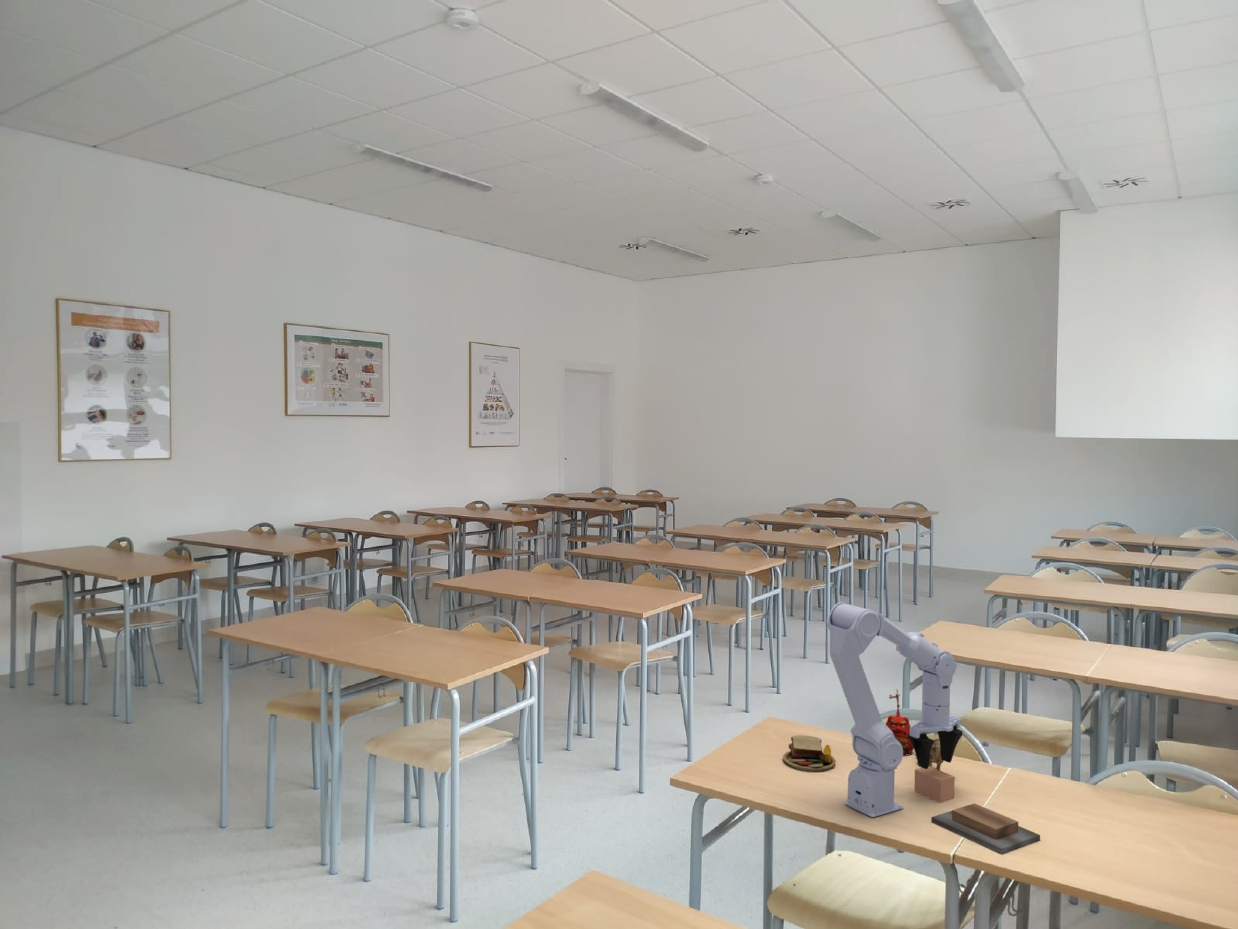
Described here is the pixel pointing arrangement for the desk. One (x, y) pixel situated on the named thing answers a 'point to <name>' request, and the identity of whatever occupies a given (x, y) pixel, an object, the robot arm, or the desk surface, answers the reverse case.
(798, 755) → the toy sandwich meal
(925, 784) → the terracotta brick
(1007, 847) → the tower base
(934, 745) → the lion figurine
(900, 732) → the red clay folk toy
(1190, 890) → the desk surface
